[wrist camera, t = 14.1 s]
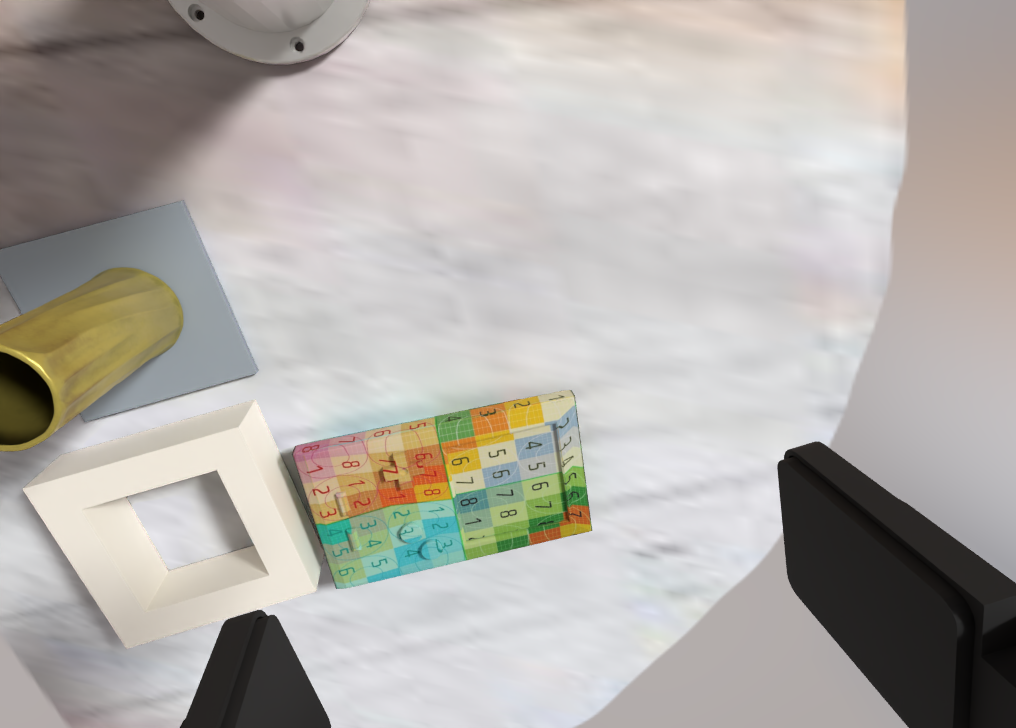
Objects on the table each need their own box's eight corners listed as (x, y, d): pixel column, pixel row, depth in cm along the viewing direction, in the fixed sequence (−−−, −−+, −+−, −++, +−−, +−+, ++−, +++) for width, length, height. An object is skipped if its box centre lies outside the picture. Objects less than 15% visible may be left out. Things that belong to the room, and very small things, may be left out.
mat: (-7, 251, 38) (-13, 252, 37) (183, 200, 38) (180, 201, 38) (88, 418, 42) (84, 422, 41) (258, 370, 43) (256, 373, 42)
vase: (187, 360, 41) (79, 464, 28) (87, 354, 40) (-75, 459, 27) (182, 270, 39) (62, 337, 26) (76, 262, 38) (-105, 326, 25)
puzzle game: (289, 460, 41) (578, 400, 42) (301, 430, 45) (562, 376, 47) (334, 597, 45) (595, 538, 46) (341, 557, 49) (579, 504, 51)
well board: (60, 454, 43) (22, 489, 38) (255, 399, 43) (238, 426, 39) (151, 604, 48) (126, 648, 44) (324, 552, 48) (316, 591, 44)
